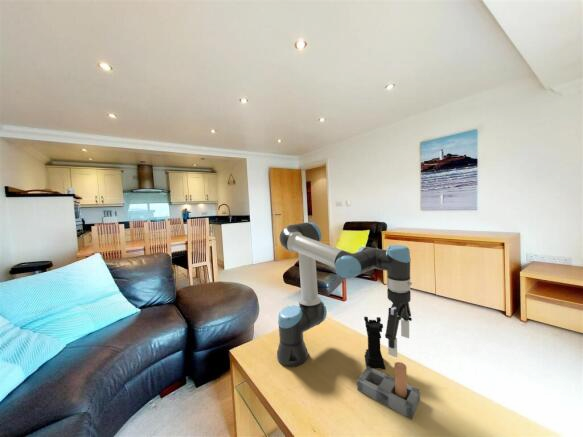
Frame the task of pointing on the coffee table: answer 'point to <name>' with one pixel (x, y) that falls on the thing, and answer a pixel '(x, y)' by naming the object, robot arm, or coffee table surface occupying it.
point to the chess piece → (374, 344)
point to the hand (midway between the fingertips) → (399, 345)
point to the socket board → (388, 391)
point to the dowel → (400, 380)
